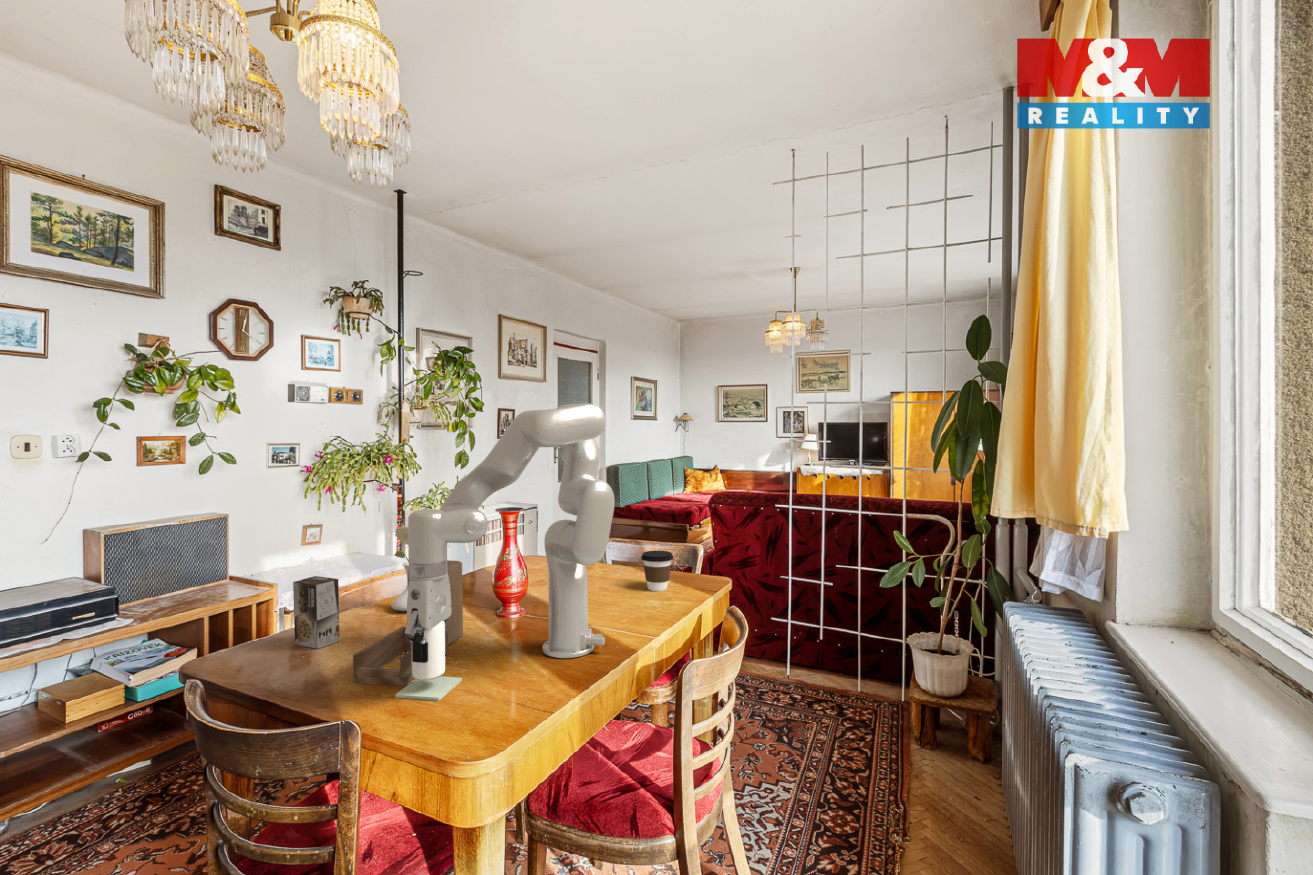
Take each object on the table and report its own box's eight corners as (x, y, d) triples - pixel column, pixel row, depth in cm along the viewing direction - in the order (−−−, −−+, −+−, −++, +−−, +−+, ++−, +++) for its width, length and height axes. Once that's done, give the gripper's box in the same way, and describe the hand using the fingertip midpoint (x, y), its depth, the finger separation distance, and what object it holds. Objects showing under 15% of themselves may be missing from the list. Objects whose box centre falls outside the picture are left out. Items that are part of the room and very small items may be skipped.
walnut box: (448, 653, 142) (447, 628, 142) (404, 685, 125) (404, 657, 124) (402, 650, 144) (402, 626, 144) (353, 682, 126) (352, 654, 126)
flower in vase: (439, 606, 180) (438, 525, 180) (406, 616, 170) (405, 530, 170) (413, 600, 187) (412, 521, 187) (379, 609, 177) (378, 526, 177)
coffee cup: (638, 592, 193) (638, 556, 193) (644, 584, 204) (644, 549, 204) (671, 594, 192) (671, 557, 191) (675, 585, 202) (675, 550, 202)
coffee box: (340, 641, 151) (339, 578, 151) (317, 649, 145) (316, 584, 145) (317, 636, 155) (316, 575, 155) (293, 644, 149) (292, 580, 149)
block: (443, 650, 144) (442, 569, 144) (407, 647, 146) (405, 567, 146) (464, 636, 154) (463, 560, 154) (430, 633, 156) (429, 558, 156)
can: (413, 683, 119) (412, 624, 118) (410, 671, 124) (409, 615, 124) (447, 677, 122) (446, 619, 121) (443, 665, 127) (442, 610, 127)
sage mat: (461, 680, 127) (461, 677, 127) (438, 700, 118) (438, 697, 118) (421, 677, 129) (421, 675, 129) (395, 697, 119) (395, 694, 119)
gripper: (421, 580, 114) (422, 673, 114) (464, 560, 131) (465, 642, 131) (386, 579, 115) (387, 671, 115) (433, 559, 132) (434, 640, 132)
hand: (428, 654), depth 123 cm, fingers closed on can, 5 cm apart
